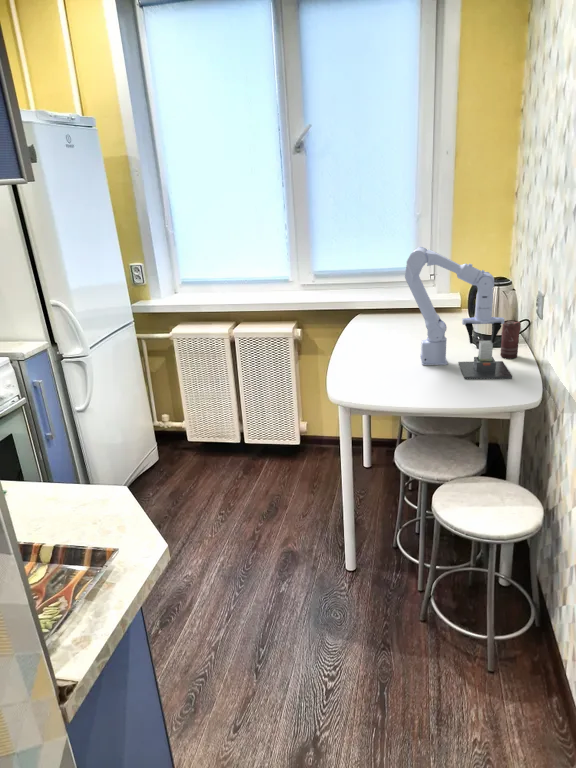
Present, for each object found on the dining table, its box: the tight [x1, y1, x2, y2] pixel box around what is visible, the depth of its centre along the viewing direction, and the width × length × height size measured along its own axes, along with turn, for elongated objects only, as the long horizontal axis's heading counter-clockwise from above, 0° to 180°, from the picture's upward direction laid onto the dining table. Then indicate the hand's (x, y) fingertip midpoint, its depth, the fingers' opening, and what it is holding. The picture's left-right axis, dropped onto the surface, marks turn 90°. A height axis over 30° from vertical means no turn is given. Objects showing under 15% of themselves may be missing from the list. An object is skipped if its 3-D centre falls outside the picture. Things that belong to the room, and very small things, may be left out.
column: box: [477, 339, 494, 362], centre depth 202 cm, size 4×4×8 cm
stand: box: [457, 356, 513, 380], centre depth 204 cm, size 16×16×4 cm
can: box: [499, 319, 522, 360], centre depth 215 cm, size 6×6×14 cm
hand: (481, 342), depth 209 cm, fingers open, 7 cm apart
